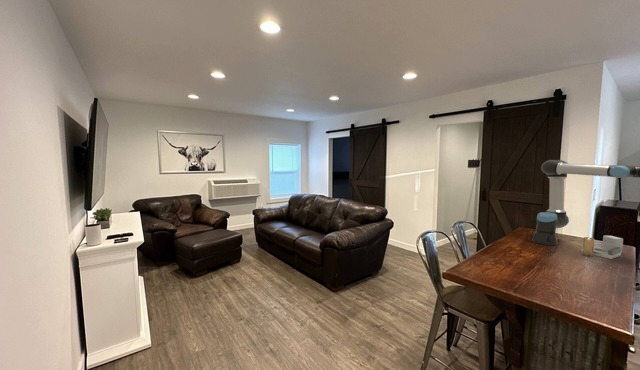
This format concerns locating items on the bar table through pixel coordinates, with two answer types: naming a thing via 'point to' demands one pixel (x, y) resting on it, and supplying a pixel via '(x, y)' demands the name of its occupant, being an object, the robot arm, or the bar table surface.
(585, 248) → the bushing
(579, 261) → the bar table surface
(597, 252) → the plate
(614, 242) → the small box
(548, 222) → the robot arm
